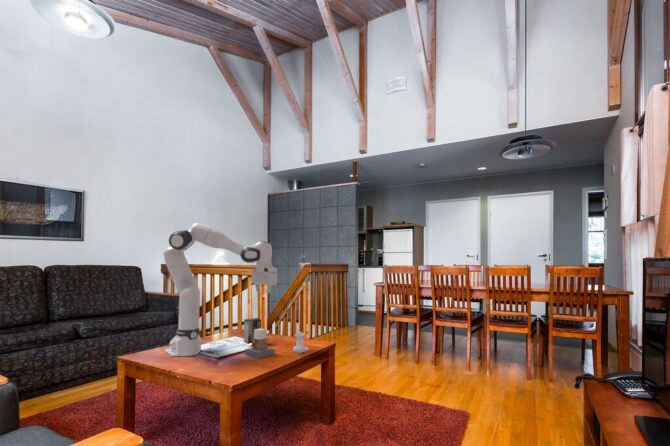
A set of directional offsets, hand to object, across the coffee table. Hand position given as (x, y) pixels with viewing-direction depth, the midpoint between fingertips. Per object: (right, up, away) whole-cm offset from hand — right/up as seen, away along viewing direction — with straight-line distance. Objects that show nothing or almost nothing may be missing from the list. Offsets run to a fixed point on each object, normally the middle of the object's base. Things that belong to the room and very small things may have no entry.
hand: (263, 292), depth 221 cm
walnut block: (-1, -32, -5) cm, 32 cm away
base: (-1, -35, -6) cm, 36 cm away
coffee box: (-10, -37, +16) cm, 41 cm away
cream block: (-1, -26, -5) cm, 26 cm away
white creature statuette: (+22, -36, +1) cm, 42 cm away
